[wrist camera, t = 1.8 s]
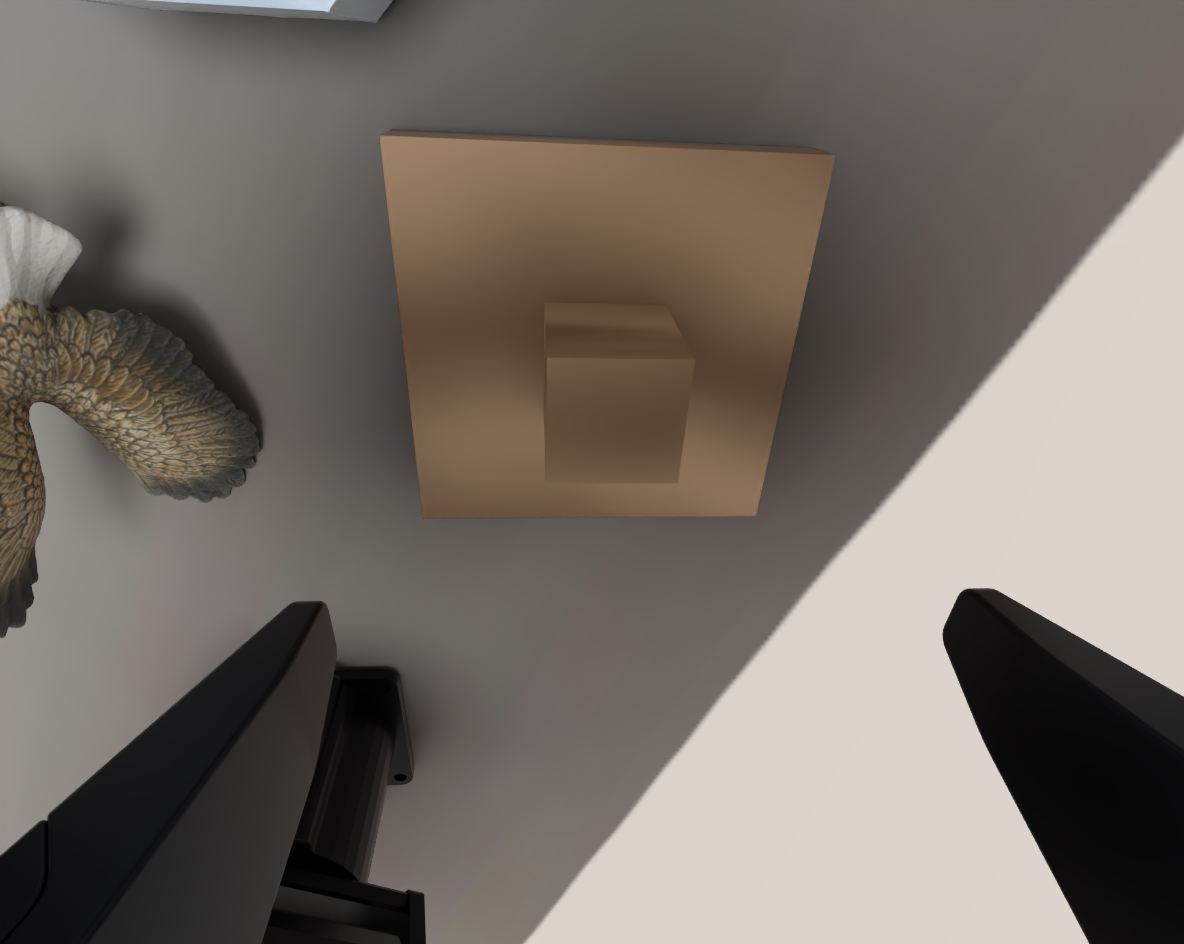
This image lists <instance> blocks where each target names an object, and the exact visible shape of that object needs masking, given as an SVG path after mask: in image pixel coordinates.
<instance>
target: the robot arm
mask: <svg viewBox="0 0 1184 944" xmlns="http://www.w3.org/2000/svg"><path fill="white" fill-rule="evenodd" d="M943 642H944V646H945V649H946V651H947V654H948V656H949V658H950V661H951V664H952V666H953V668H954V670H955V673H956V676H957V678H958V681H959V683H960V686H961V688H962V691H963V693H964V696H965V698H966V700H967V703H968V705H969V708H970V710H971V713H972V715H973V718H974V720H975V723H976V725H977V727H978V730H979V732H980V734H981V736H982V739H983V741H984V743H985V745H986V747H987V749H988V751H989V753H990V755H991V757H992V759H993V761H994V763H995V765H996V767H997V769H998V771H999V772H1000V774H1001V776H1002V778H1003V780H1004V782H1005V784H1006V786H1007V787H1008V790H1009V792H1010V793H1011V795H1012V797H1013V799H1014V801H1015V803H1016V805H1017V807H1018V809H1019V811H1020V812H1021V814H1022V816H1023V818H1024V820H1025V822H1026V824H1027V826H1028V828H1029V830H1030V831H1031V833H1032V835H1033V837H1034V839H1035V841H1036V843H1037V845H1038V847H1039V849H1040V851H1041V853H1042V854H1043V856H1044V858H1045V860H1046V862H1047V864H1048V866H1049V868H1050V870H1051V871H1052V873H1053V875H1054V877H1055V879H1056V881H1057V883H1058V885H1059V887H1060V889H1061V891H1062V892H1063V894H1064V896H1065V898H1066V900H1067V902H1068V904H1069V906H1070V908H1071V910H1072V912H1073V913H1074V915H1075V917H1076V919H1077V921H1078V923H1079V925H1080V927H1081V929H1082V931H1083V932H1084V934H1085V936H1086V938H1087V940H1088V942H1089V944H1184V697H1183V696H1181V695H1180V694H1178V693H1176V692H1174V691H1172V690H1171V689H1169V688H1167V687H1166V686H1164V685H1162V684H1160V683H1159V682H1157V681H1155V680H1153V679H1152V678H1150V677H1148V676H1146V675H1144V674H1143V673H1141V672H1139V671H1137V670H1136V669H1134V668H1132V667H1130V666H1129V665H1127V664H1125V663H1123V662H1122V661H1120V660H1118V659H1116V658H1114V657H1113V656H1111V655H1109V654H1108V653H1106V652H1104V651H1102V650H1101V649H1099V648H1097V647H1095V646H1094V645H1092V644H1090V643H1088V642H1087V641H1085V640H1083V639H1081V638H1080V637H1078V636H1076V635H1074V634H1072V633H1071V632H1069V631H1067V630H1066V629H1064V628H1062V627H1060V626H1059V625H1057V624H1055V623H1053V622H1051V621H1050V620H1048V619H1046V618H1044V617H1043V616H1041V615H1039V614H1038V613H1036V612H1034V611H1032V610H1031V609H1029V608H1027V607H1025V606H1024V605H1022V604H1020V603H1018V602H1016V601H1015V600H1013V599H1011V598H1009V597H1008V596H1006V595H1004V594H1002V593H1001V592H999V591H997V590H995V589H989V588H974V589H966V590H963V591H962V592H961V593H960V594H959V596H958V597H957V600H956V602H955V604H954V606H953V608H952V610H951V613H950V615H949V617H948V619H947V621H946V623H945V626H944V629H943ZM336 656H337V647H336V641H335V636H334V632H333V627H332V623H331V619H330V614H329V610H328V607H327V605H326V604H325V603H324V602H322V601H297V602H293V603H291V604H289V605H288V606H287V607H286V608H285V609H283V610H282V611H281V612H280V613H279V614H278V615H277V616H275V617H274V618H273V619H272V620H271V621H270V622H268V623H267V624H266V625H265V626H264V627H263V628H262V629H260V630H259V631H258V632H257V633H256V634H255V635H254V636H252V637H251V638H250V639H249V640H248V641H247V642H246V643H244V644H243V645H242V646H241V647H240V648H239V649H237V650H236V651H235V652H234V653H233V654H232V655H231V656H229V657H228V658H227V659H226V660H225V661H224V662H223V663H221V664H220V665H219V666H218V667H217V668H216V669H214V670H213V671H212V672H211V673H210V674H209V675H208V676H206V677H205V678H204V679H203V680H202V681H201V682H200V683H198V684H197V685H196V686H195V687H194V688H193V689H191V690H190V691H189V692H188V693H187V694H186V695H185V696H183V697H182V698H181V699H180V700H179V701H178V702H177V703H175V704H174V705H173V706H172V707H171V708H170V709H169V710H167V711H166V712H165V713H164V714H163V715H162V716H160V717H159V718H158V719H157V720H156V721H155V722H154V723H152V724H151V725H150V726H149V727H148V728H147V729H146V730H144V731H143V732H142V733H141V734H140V735H139V736H137V737H136V738H135V739H134V740H133V741H132V742H131V743H129V744H128V745H127V746H126V747H125V748H124V749H123V750H121V751H120V752H119V753H118V754H117V755H116V756H114V757H113V758H112V759H111V760H110V761H109V762H108V763H106V764H105V765H104V766H103V767H102V768H101V769H100V770H98V771H97V772H96V773H95V774H94V775H93V776H92V777H90V778H89V779H88V780H87V781H86V782H85V783H83V784H82V785H81V786H80V787H79V788H78V789H77V790H75V791H74V792H73V793H72V794H71V795H70V796H69V797H67V798H66V799H65V800H64V801H63V802H62V803H60V804H59V805H58V806H57V807H56V808H55V809H54V810H52V811H51V812H50V813H49V815H48V817H47V821H46V820H42V821H40V822H38V823H37V824H36V825H35V826H34V827H33V828H31V829H30V830H29V831H28V832H27V833H26V834H24V835H23V836H22V837H21V838H20V839H19V840H18V841H16V842H15V843H14V844H13V845H12V846H11V847H10V848H8V849H7V850H6V851H5V852H4V853H3V854H1V855H0V944H426V934H425V904H424V894H423V893H421V892H417V891H412V890H407V891H406V892H403V891H398V890H394V889H390V888H386V887H381V886H377V885H373V884H369V883H367V882H368V877H369V873H370V868H371V863H372V858H373V853H374V848H375V843H376V838H377V833H378V828H379V823H380V818H381V813H382V808H383V803H384V798H385V793H386V788H387V785H403V784H407V783H409V782H411V781H412V778H413V772H414V764H413V758H412V751H411V745H410V739H409V733H408V727H407V721H406V715H405V708H404V702H403V696H402V690H401V684H400V678H399V676H398V675H397V674H396V673H395V672H392V671H390V670H363V671H334V669H335V664H336ZM384 683H386V684H384Z"/></svg>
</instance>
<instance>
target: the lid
mask: <svg viewBox="0 0 1184 944" xmlns="http://www.w3.org/2000/svg"><path fill="white" fill-rule="evenodd" d="M379 136H380V145H381V154H382V163H383V172H384V181H385V189H386V198H387V207H388V216H389V225H390V234H391V242H392V251H393V260H394V269H395V278H396V287H397V295H398V304H399V313H400V322H401V331H402V340H403V349H404V357H405V366H406V375H407V384H408V393H409V402H410V410H411V419H412V428H413V437H414V446H415V455H416V463H417V472H418V481H419V490H420V499H421V508H422V516H423V519H424V518H558V517H693V516H756V514H757V509H758V505H759V500H760V496H761V491H762V487H763V482H764V478H765V473H766V469H767V464H768V460H769V455H770V451H771V446H772V442H773V437H774V433H775V428H776V424H777V419H778V415H779V410H780V406H781V401H782V396H783V392H784V387H785V383H786V378H787V374H788V369H789V365H790V360H791V356H792V351H793V347H794V342H795V338H796V333H797V329H798V324H799V320H800V315H801V311H802V306H803V302H804V297H805V293H806V288H807V284H808V279H809V275H810V270H811V266H812V261H813V257H814V252H815V248H816V243H817V239H818V234H819V230H820V225H821V221H822V216H823V212H824V207H825V202H826V198H827V193H828V189H829V184H830V180H831V175H832V171H833V166H834V162H835V157H836V155H834V154H831V153H828V152H824V151H821V150H810V149H787V148H764V147H742V146H719V145H696V144H673V143H650V142H628V141H605V140H582V139H559V138H536V137H514V136H491V135H468V134H445V133H422V132H400V131H387V132H385V133H383V134H381V135H379Z"/></svg>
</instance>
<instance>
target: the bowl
mask: <svg viewBox="0 0 1184 944" xmlns="http://www.w3.org/2000/svg"><path fill="white" fill-rule="evenodd" d="M81 1H89V2H97V3H104V4H112V5H120V6H128V7H136V8H144V9H152V10H160V11H162V10H177V11H194V12H211V13H228V14H246V15H263V16H272V17H279V18H314V19H331V20H349V21H366V22H372V23H376V22H378V19H379V18H380V17H381V15H382V14H383V13H384V11H385V10H386V9H387V8H388V6H389V5H390V4H391V2H392V1H393V0H81Z"/></svg>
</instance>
